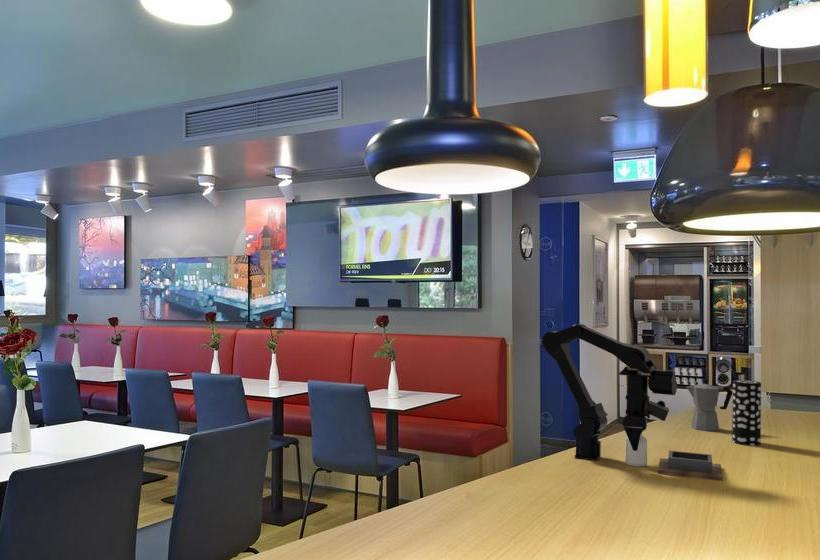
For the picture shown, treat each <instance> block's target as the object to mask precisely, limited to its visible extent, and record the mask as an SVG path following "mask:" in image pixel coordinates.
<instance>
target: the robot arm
mask: <svg viewBox="0 0 820 560" xmlns="http://www.w3.org/2000/svg"><path fill="white" fill-rule="evenodd" d="M578 339H580V340H581V341H584V342H586V343H588V344H590V345H592V346H594V347H596V348H599V349H601V350H602V351H605V352H607V353H610V354H611V355H613V356H614V357H616V358H617V359H618V360H619V361H620V362H622V363H623V364H625V367H624V368H622V370H621V371H620V372H619V376H626V395H625V401H626V402H625V403H626V404H625V405H626V406H625V408H626V409H625V414H626V415H624V416H623V417H622V424H621V425H622V427H623V429H624V431H625V434H626V436H628V439H629V441H630V444H631V446H632V449H633V450H634V451H637V449H638V445H639V440H640V435H641V436H643V432H644V431H646V430H647V426H648V422H649V421H650V418H651V416H653V417H654V418H658V419H659V420H660V421H662V422H665V421H666V419H667V416H668V414H669V411H670V408H669V407H666V403H665V401H663V400H661V399H659V400H658V401H657V402H655V401H652V400H650V396H649V393H648V391H651V392H652V394H655V395H656V394H657V395H666V396H667V395H668V396H675V395H676V394H677V390H678V381H677V377H676V375H675V373H676V371H675V370H673V369H670V370H665V369H658V367H657V366H656V365H655V363H654V362H653V361H652V359H651V355H650V352H649V350H648V349H647V348H645V347H642V346H639V345H634V344H630V343H626V342H625V343H624V342H622V341H619V340H617V339H614V338H612V337H610V336H608V335H606V334H604V333H601V332H599V331H597V330H594V329H592V328H590V327H588V326H587V325H585V324H584V323H579V324H573V325H572V326H570V327H567V328H565V329H562V330H554V331H547V332H546V333H544V334H543V335H542V339H541V344H542V347H543V349H544V351H545V352H546V353H547V354H548V355H549V356H550V358H551V359H553V360H554V361H555V362H556V365H557V366H558V368H559V370H560V372H561V375H562V377H563V379H564V380H565V382H566V384H567V386H568V389H569V391H570V392H571V393H570V394H571V395H572V397H573V399H574V401H575V403H576V405H577V412H578V413H577V414H578V418H579V422H580V423H579V424H578V425H577V426H576V427H575V428H574V429H572V432H573V435H574V437H575V455H574V458H575V459H586V460H592V461H593V460H595V461H598V459H599V458H600V457H601V455H602V441H601V440H600V434H601V432H602V430H604V429H605V428H606V427H607V424H608V418H607V416H608V413H607V412H606V411H605V409H604V406H603V403H602V402H599V403H596V402H595V401H594V400H593V399H592V397H591V395H590V392H589V391H588V388H587V387H586V384H585V382H584V381H583V378H582V377H581V375H580V373H579V371H578V368H577V367H576V364H575V362H574V360H573V358H572V356H571V346H570V343H571V342H575V341H576V340H578Z"/></svg>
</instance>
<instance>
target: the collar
mask: <svg viewBox="0 0 820 560" xmlns="http://www.w3.org/2000/svg"><path fill="white" fill-rule="evenodd" d="M667 459H668V469H676V470H685V471H694V472H704V473H712V464H713V456H712V454H709V453H700V452H697V453H696V452H688V451H687V452H686V451H679V450H668V455H667Z"/></svg>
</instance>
